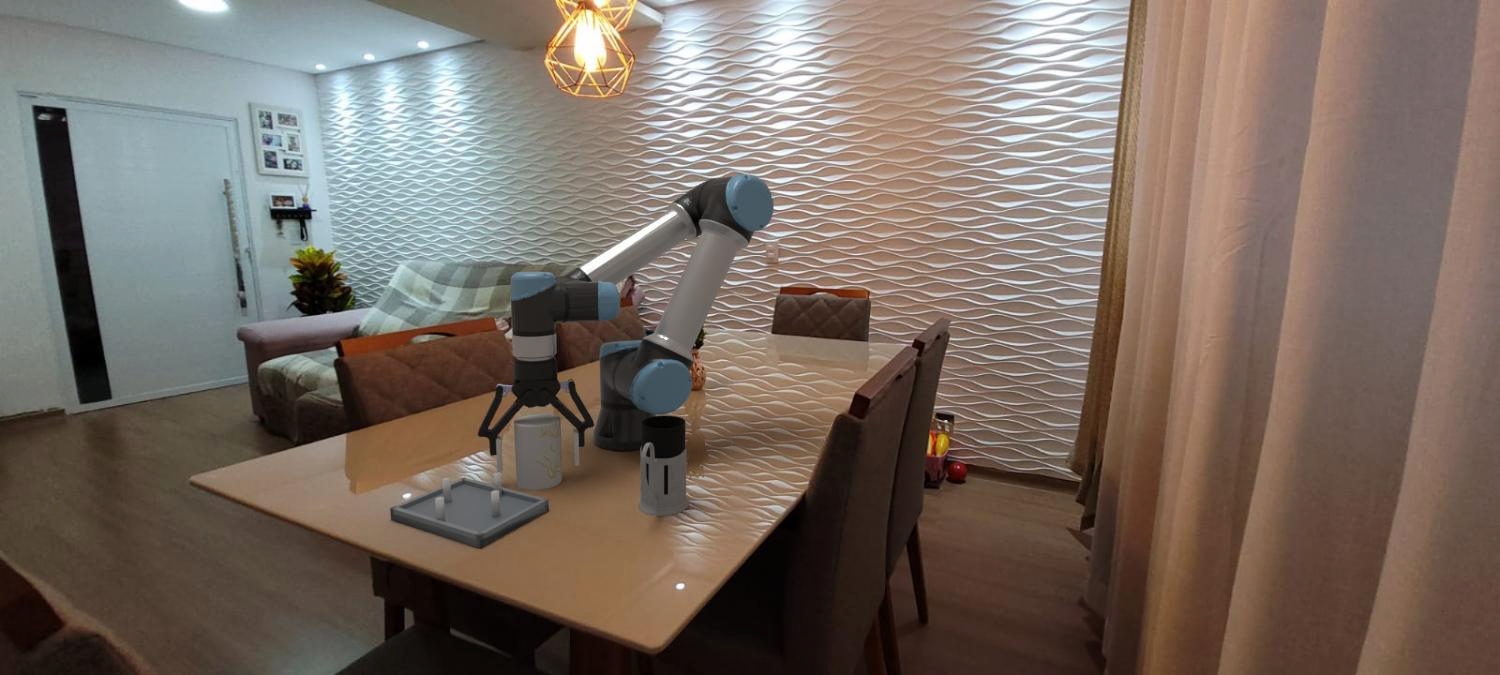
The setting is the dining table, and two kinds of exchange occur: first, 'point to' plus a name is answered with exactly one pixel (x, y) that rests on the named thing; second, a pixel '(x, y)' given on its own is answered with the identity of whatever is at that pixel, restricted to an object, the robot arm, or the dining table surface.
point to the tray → (470, 510)
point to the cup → (538, 451)
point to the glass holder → (663, 466)
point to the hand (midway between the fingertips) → (539, 467)
